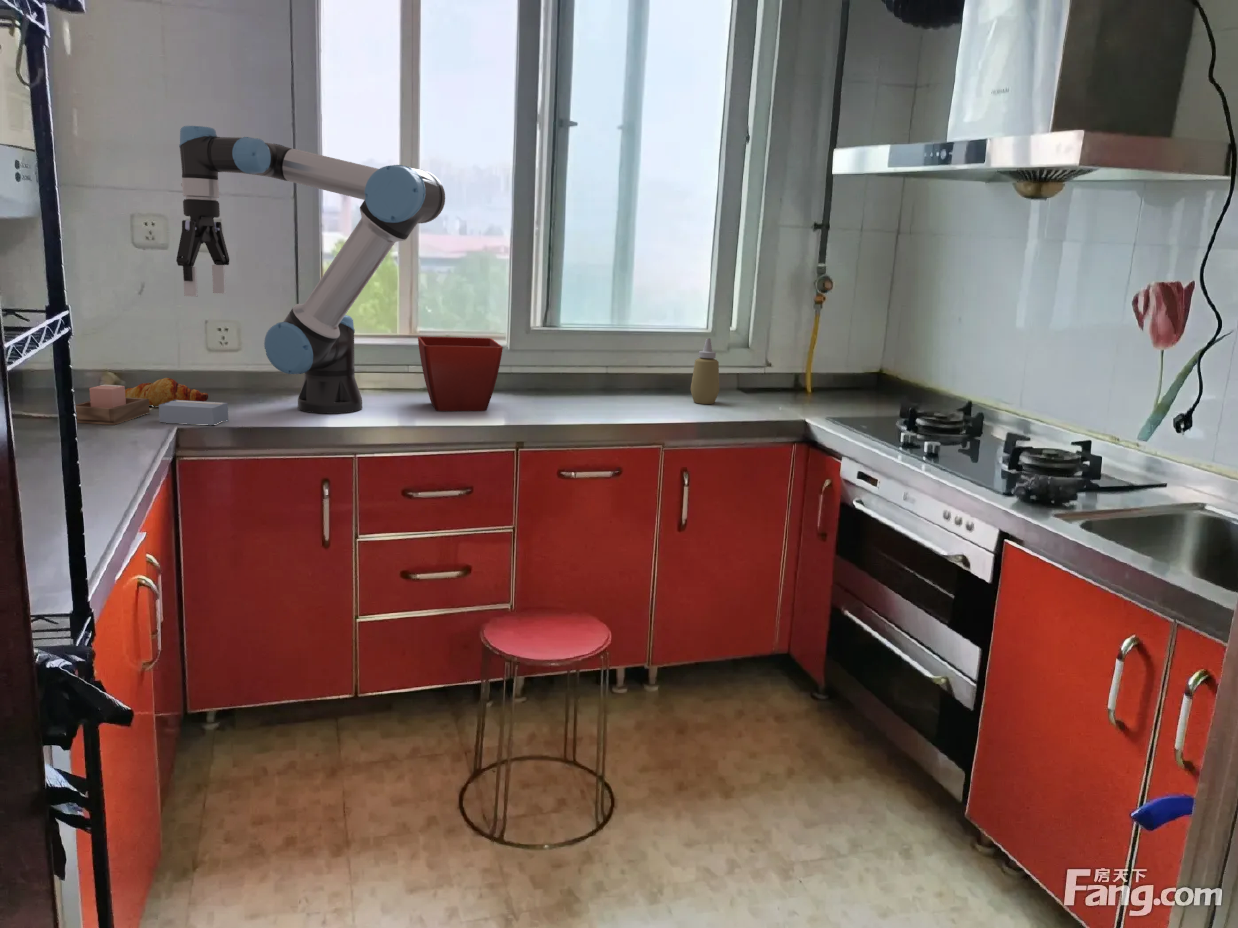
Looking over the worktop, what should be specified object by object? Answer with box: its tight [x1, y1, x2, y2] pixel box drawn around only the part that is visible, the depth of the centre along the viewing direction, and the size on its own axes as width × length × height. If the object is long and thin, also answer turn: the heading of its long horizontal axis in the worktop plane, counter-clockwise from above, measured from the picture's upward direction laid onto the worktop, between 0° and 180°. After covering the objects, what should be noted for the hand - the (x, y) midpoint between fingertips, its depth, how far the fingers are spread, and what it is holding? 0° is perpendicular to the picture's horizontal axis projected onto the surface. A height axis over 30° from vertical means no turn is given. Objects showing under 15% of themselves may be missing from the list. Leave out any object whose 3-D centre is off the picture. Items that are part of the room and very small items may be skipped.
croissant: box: [125, 377, 209, 406], centre depth 231 cm, size 21×10×8 cm, turn 94°
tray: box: [75, 398, 151, 426], centre depth 213 cm, size 10×14×3 cm
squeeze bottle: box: [690, 338, 720, 405], centre depth 270 cm, size 8×8×18 cm
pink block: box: [89, 384, 126, 408], centre depth 213 cm, size 5×5×6 cm
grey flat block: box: [158, 400, 229, 425], centre depth 213 cm, size 12×7×4 cm, turn 86°
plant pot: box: [417, 336, 504, 412], centre depth 245 cm, size 19×19×17 cm
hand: (205, 294), depth 222 cm, fingers open, 13 cm apart
